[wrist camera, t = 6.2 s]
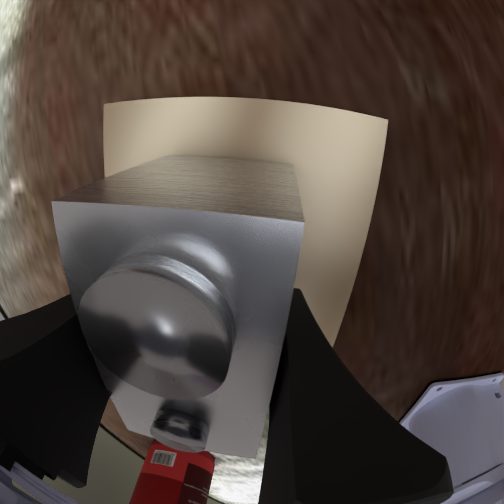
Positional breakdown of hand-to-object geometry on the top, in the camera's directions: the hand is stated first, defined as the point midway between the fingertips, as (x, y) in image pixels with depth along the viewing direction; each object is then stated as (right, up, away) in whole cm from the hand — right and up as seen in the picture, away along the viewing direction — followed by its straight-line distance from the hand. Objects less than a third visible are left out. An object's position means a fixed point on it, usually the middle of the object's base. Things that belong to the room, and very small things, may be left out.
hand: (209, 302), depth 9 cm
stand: (+1, +2, +4) cm, 4 cm away
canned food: (-6, -21, +17) cm, 28 cm away
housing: (0, +1, +2) cm, 2 cm away
